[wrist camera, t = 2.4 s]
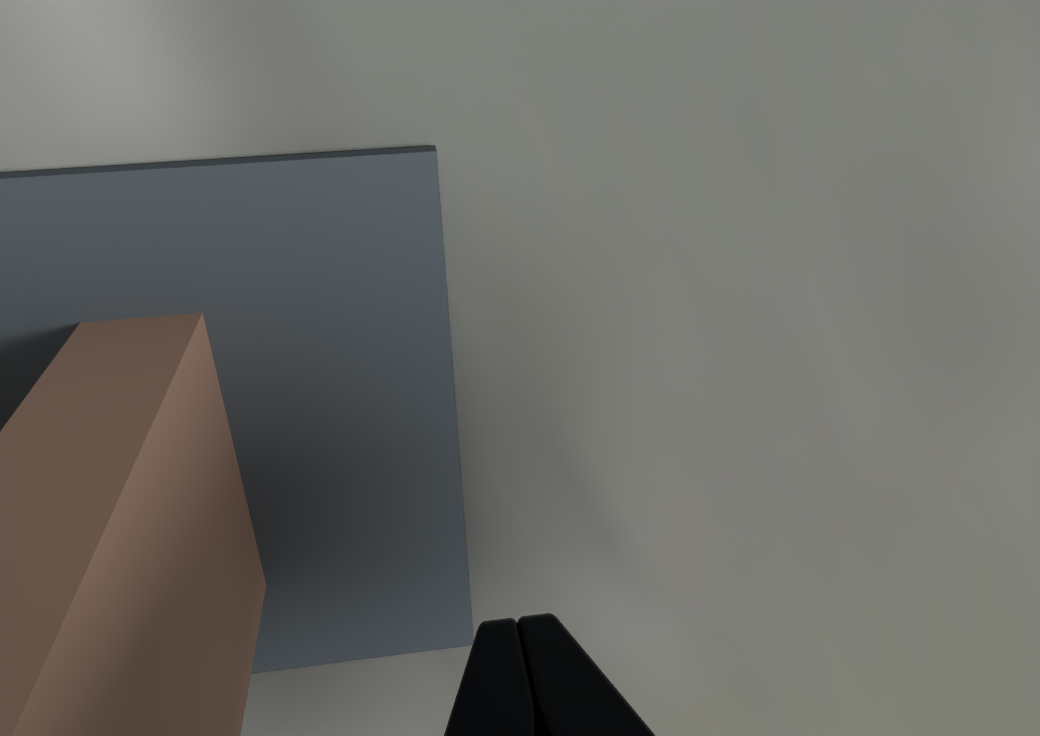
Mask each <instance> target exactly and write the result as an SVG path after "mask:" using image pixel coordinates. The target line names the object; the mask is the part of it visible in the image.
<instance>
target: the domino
mask: <svg viewBox="0 0 1040 736" xmlns="http://www.w3.org/2000/svg"><path fill="white" fill-rule="evenodd" d="M265 590H266V582H265V577H264V573H263V569H262V565H261V560H260V556H259V552H258V547H257V543H256V539H255V535H254V530H253V526H252V522H251V518H250V513H249V509H248V505H247V500H246V496H245V492H244V488H243V483H242V479H241V475H240V471H239V466H238V462H237V458H236V453H235V449H234V445H233V441H232V436H231V432H230V428H229V424H228V419H227V415H226V411H225V406H224V402H223V398H222V394H221V389H220V385H219V381H218V377H217V372H216V368H215V364H214V360H213V355H212V351H211V347H210V342H209V338H208V334H207V330H206V325H205V321H204V317H203V313H191V314H179V315H167V316H155V317H142V318H130V319H118V320H106V321H94V322H81V323H80V324H79V325H78V326H77V328H76V329H75V330H74V332H73V333H72V335H71V336H70V337H69V339H68V340H67V341H66V343H65V344H64V345H63V347H62V348H61V350H60V351H59V352H58V354H57V355H56V356H55V358H54V359H53V360H52V362H51V363H50V365H49V366H48V367H47V369H46V370H45V371H44V373H43V374H42V375H41V377H40V378H39V379H38V381H37V382H36V384H35V385H34V386H33V388H32V389H31V390H30V392H29V393H28V394H27V396H26V397H25V399H24V400H23V401H22V403H21V404H20V405H19V407H18V408H17V409H16V411H15V412H14V414H13V415H12V416H11V418H10V419H9V420H8V422H7V423H6V424H5V426H4V427H3V428H2V430H1V431H0V736H240V733H241V727H242V721H243V715H244V710H245V704H246V698H247V693H248V687H249V681H250V675H251V670H252V664H253V658H254V653H255V647H256V641H257V635H258V630H259V624H260V618H261V612H262V607H263V601H264V595H265Z"/></svg>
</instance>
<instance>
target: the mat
mask: <svg viewBox="0 0 1040 736" xmlns="http://www.w3.org/2000/svg"><path fill="white" fill-rule="evenodd" d="M191 313H203V317H204V321H205V325H206V330H207V334H208V338H209V342H210V347H211V351H212V355H213V360H214V364H215V368H216V372H217V377H218V381H219V385H220V389H221V394H222V398H223V402H224V406H225V411H226V415H227V419H228V424H229V428H230V432H231V436H232V441H233V445H234V449H235V453H236V458H237V462H238V466H239V471H240V475H241V479H242V483H243V488H244V492H245V496H246V500H247V505H248V509H249V513H250V518H251V522H252V526H253V530H254V535H255V539H256V543H257V547H258V552H259V556H260V560H261V565H262V569H263V573H264V577H265V582H266V590H265V595H264V601H263V607H262V612H261V618H260V624H259V630H258V635H257V641H256V647H255V653H254V658H253V664H252V670H251V674H252V673H259V672H267V671H275V670H283V669H290V668H298V667H306V666H314V665H321V664H329V663H337V662H345V661H352V660H360V659H368V658H376V657H383V656H391V655H399V654H407V653H414V652H422V651H430V650H438V649H445V648H453V647H461V646H469V645H473V643H474V641H473V627H472V614H471V601H470V588H469V575H468V562H467V548H466V535H465V522H464V509H463V496H462V483H461V469H460V456H459V443H458V430H457V417H456V404H455V391H454V377H453V364H452V351H451V338H450V325H449V312H448V298H447V285H446V272H445V259H444V246H443V233H442V219H441V206H440V193H439V180H438V167H437V154H436V147H435V146H420V147H404V148H388V149H372V150H356V151H340V152H324V153H308V154H292V155H276V156H260V157H244V158H228V159H212V160H196V161H180V162H164V163H148V164H132V165H116V166H100V167H84V168H68V169H52V170H36V171H21V172H5V173H0V431H1V430H2V428H3V427H4V426H5V424H6V423H7V422H8V420H9V419H10V418H11V416H12V415H13V414H14V412H15V411H16V409H17V408H18V407H19V405H20V404H21V403H22V401H23V400H24V399H25V397H26V396H27V394H28V393H29V392H30V390H31V389H32V388H33V386H34V385H35V384H36V382H37V381H38V379H39V378H40V377H41V375H42V374H43V373H44V371H45V370H46V369H47V367H48V366H49V365H50V363H51V362H52V360H53V359H54V358H55V356H56V355H57V354H58V352H59V351H60V350H61V348H62V347H63V345H64V344H65V343H66V341H67V340H68V339H69V337H70V336H71V335H72V333H73V332H74V330H75V329H76V328H77V326H78V325H79V324H80V323H81V322H94V321H106V320H118V319H130V318H142V317H155V316H167V315H179V314H191Z"/></svg>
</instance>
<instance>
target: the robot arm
mask: <svg viewBox="0 0 1040 736" xmlns="http://www.w3.org/2000/svg"><path fill="white" fill-rule="evenodd" d="M444 736H655V734H654V733H653V732H652V731H651V730H650V728H649V727H648V726H647V725H646V724H645V723H644V721H643V720H642V719H641V718H640V717H639V715H638V714H637V713H636V712H635V711H634V709H633V708H632V707H631V706H630V705H629V703H628V702H627V701H626V700H625V699H624V697H623V696H622V695H621V694H620V693H619V691H618V690H617V689H616V688H615V687H614V685H613V684H612V683H611V682H610V681H609V679H608V678H607V677H606V676H605V675H604V673H603V672H602V671H601V670H600V669H599V667H598V666H597V665H596V664H595V663H594V661H593V660H592V659H591V658H590V657H589V655H588V654H587V653H586V652H585V651H584V650H583V648H582V647H581V646H580V645H579V644H578V642H577V641H576V640H575V639H574V638H573V636H572V635H571V634H570V633H569V632H568V630H567V629H566V628H565V627H564V626H563V624H562V623H561V622H560V621H559V620H558V619H557V617H556V616H554V615H553V614H550V613H546V614H538V615H530V616H523V617H521V618H520V619H519V620H518V622H516V621H515V619H513V618H506V619H498V620H490V621H484V622H482V623H481V624H480V626H479V627H478V630H477V633H476V636H475V639H474V643H473V646H472V649H471V652H470V655H469V658H468V661H467V665H466V668H465V671H464V674H463V677H462V680H461V684H460V687H459V690H458V693H457V696H456V699H455V702H454V706H453V709H452V712H451V715H450V718H449V721H448V725H447V728H446V731H445V734H444Z"/></svg>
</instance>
